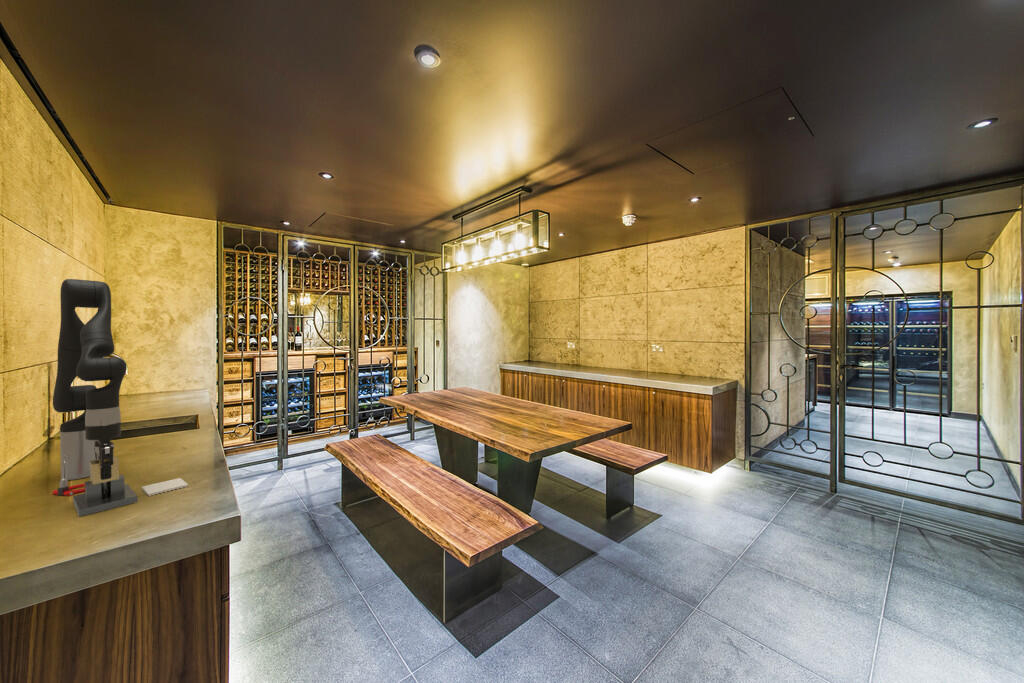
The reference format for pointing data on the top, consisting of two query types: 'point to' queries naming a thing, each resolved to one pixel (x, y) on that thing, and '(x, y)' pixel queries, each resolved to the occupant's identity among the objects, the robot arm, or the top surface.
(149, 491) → the pad
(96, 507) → the gray base plate
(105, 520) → the top surface
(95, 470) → the collar
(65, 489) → the tow hook
